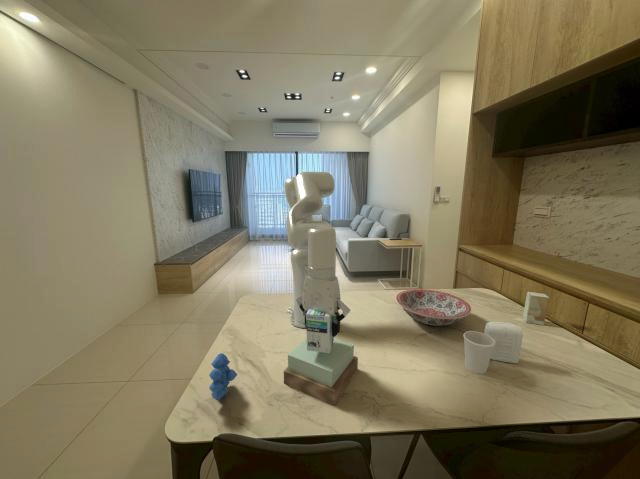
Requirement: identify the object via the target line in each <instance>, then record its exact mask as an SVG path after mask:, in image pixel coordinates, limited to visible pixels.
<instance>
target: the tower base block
mask: <svg viewBox="0 0 640 479" xmlns="http://www.w3.org/2000/svg"><path fill="white" fill-rule="evenodd" d="M358 360H359V357H358V356H356V355H354V358H353V360H352V361H351V362H350V364H349V365H348V366H347V368H346V369H345V370H344V372H343V373H342V374H341V376H340V377H339V378H338V380H337V381H336V382H335V384H334V385H333V386H332V387H329V386H327V385H325V384H322V383H320V382H317V381H315V380H313V379H310V378H308V377H306V376H303V375H301V374H299V373H296V372H294V371H291V370H289V369H288V366H287V367H286V368H285V369H283V384H284V385H286V386H289V387H291V388H293V389H296V390H298V391H300V392H303V393H304V394H308V395H309V396H312V397H314V398H316V399H318V400H321V401H323V402H325V403H328V404H330V405H332V406H336V405H337V403H338V401H339V400H340V398H341V396H342V395H343V394H344V392H345V390H346V388H347V386H348V385H349V383H350V382H351V381H352V379H353V378H354V375H355V374H356V372H357V371H358V368H359V367H358V365H359V361H358Z"/></svg>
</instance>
